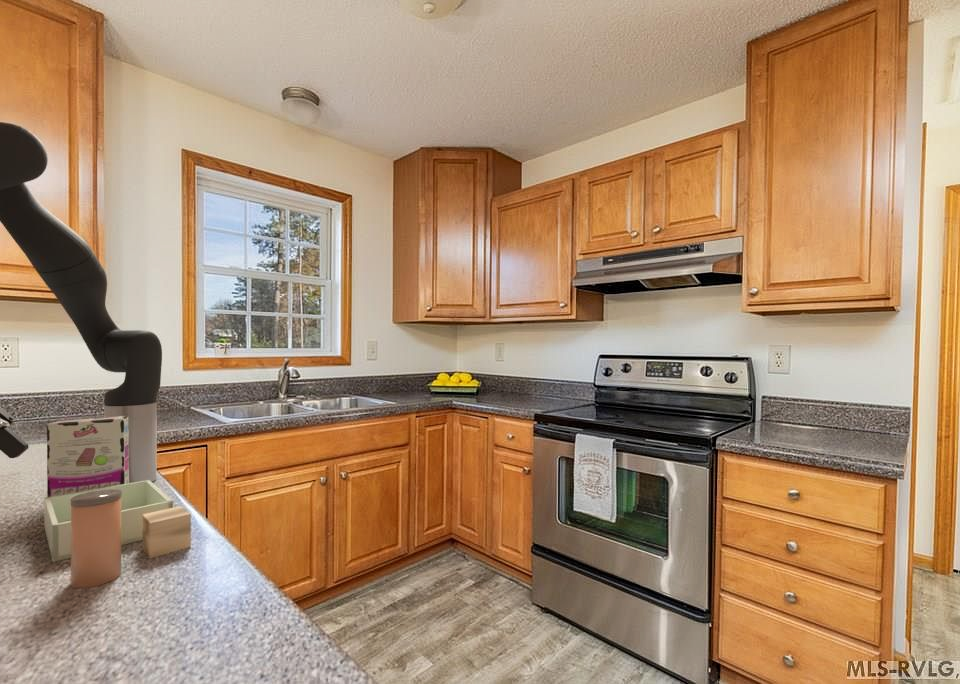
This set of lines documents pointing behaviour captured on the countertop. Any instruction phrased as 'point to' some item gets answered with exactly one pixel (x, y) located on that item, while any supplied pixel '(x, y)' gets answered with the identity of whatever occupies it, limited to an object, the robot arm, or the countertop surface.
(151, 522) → the maple block
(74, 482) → the candy bar box
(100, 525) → the spice jar
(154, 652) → the countertop surface
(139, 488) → the tote
